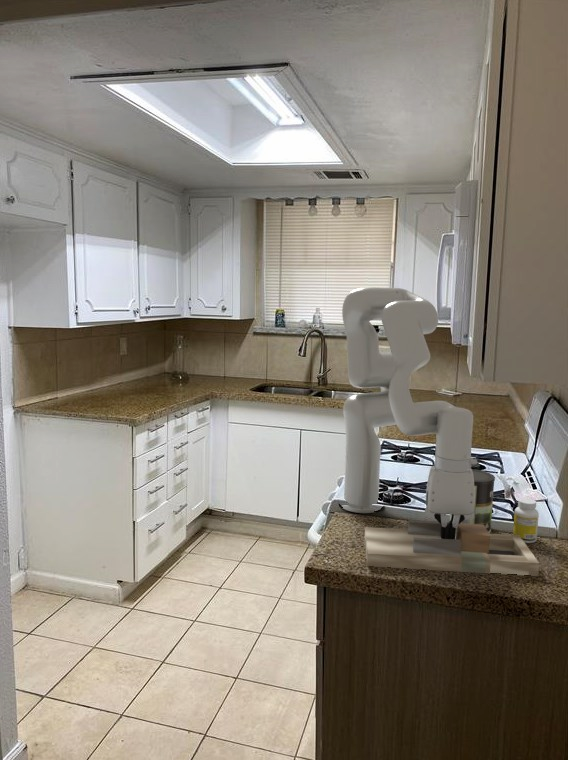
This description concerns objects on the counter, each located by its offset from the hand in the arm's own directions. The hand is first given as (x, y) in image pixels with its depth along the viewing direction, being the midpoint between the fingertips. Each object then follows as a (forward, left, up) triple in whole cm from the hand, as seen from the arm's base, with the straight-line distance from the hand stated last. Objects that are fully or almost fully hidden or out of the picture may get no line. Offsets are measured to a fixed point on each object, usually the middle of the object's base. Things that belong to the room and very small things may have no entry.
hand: (447, 541), depth 130 cm
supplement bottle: (-12, +21, -4) cm, 24 cm away
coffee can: (-17, +9, -4) cm, 20 cm away
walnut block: (0, +5, -1) cm, 5 cm away
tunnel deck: (0, 0, -4) cm, 4 cm away
